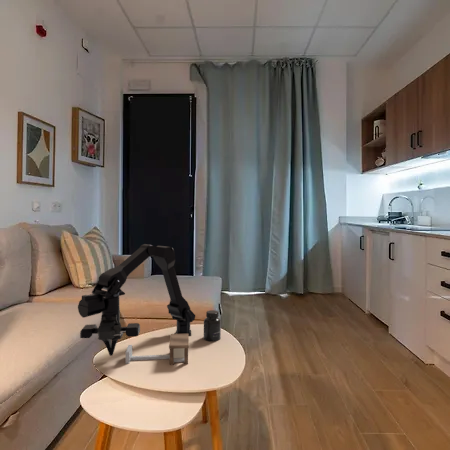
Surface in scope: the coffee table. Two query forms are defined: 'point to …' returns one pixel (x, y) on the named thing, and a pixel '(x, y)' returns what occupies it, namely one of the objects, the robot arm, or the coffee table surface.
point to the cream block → (179, 353)
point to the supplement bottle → (212, 326)
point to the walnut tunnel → (179, 346)
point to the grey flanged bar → (147, 356)
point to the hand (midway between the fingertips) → (111, 355)
